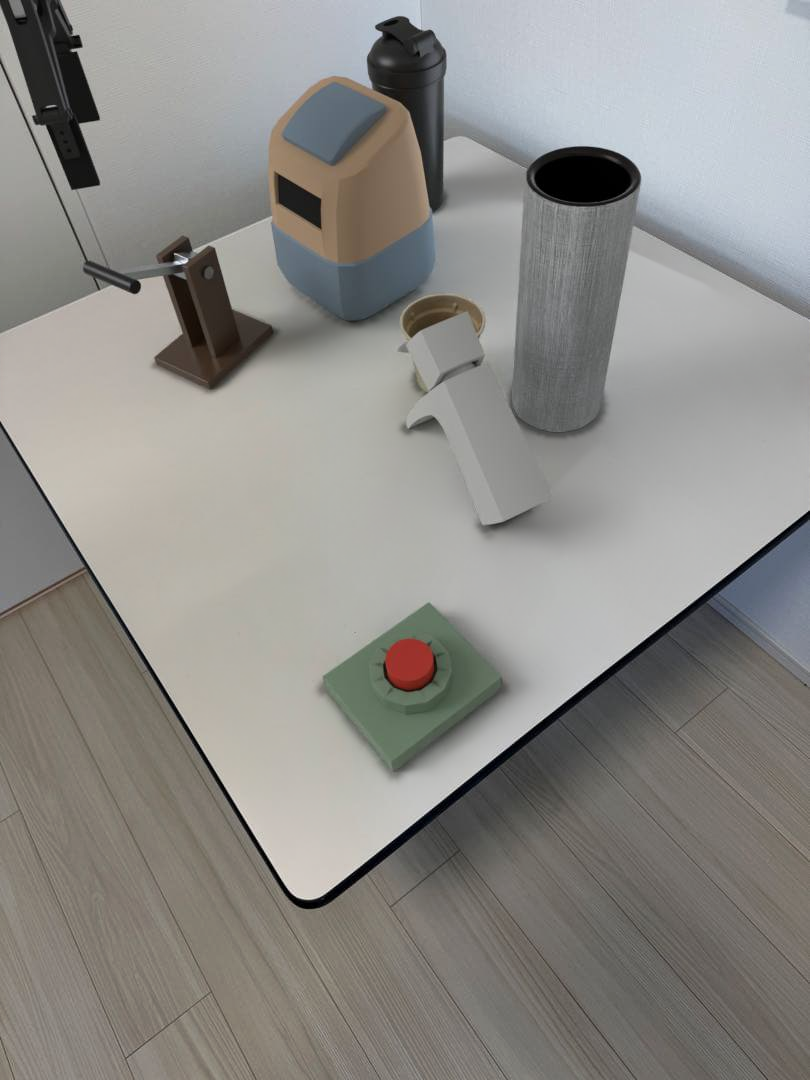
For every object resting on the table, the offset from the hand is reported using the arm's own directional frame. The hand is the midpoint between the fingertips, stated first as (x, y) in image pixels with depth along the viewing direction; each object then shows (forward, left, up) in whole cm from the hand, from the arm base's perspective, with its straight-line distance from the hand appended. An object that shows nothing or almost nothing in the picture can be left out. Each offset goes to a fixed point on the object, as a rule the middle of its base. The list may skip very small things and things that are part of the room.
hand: (86, 152), depth 83 cm
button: (+37, -44, -21) cm, 61 cm away
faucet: (+40, -18, -25) cm, 51 cm away
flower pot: (+36, -4, -25) cm, 44 cm away
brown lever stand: (+7, 0, -25) cm, 26 cm away
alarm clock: (+23, +14, -25) cm, 37 cm away
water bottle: (+28, +34, -25) cm, 51 cm away
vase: (+49, -7, -25) cm, 56 cm away
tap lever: (+5, -4, -12) cm, 14 cm away
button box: (+37, -44, -25) cm, 63 cm away
